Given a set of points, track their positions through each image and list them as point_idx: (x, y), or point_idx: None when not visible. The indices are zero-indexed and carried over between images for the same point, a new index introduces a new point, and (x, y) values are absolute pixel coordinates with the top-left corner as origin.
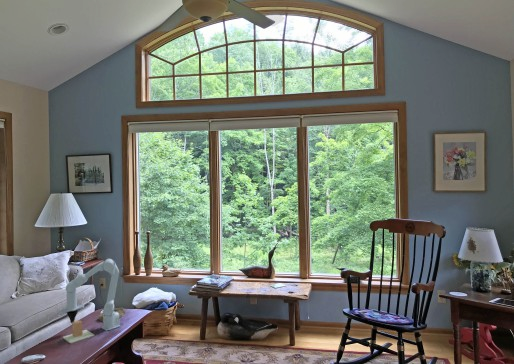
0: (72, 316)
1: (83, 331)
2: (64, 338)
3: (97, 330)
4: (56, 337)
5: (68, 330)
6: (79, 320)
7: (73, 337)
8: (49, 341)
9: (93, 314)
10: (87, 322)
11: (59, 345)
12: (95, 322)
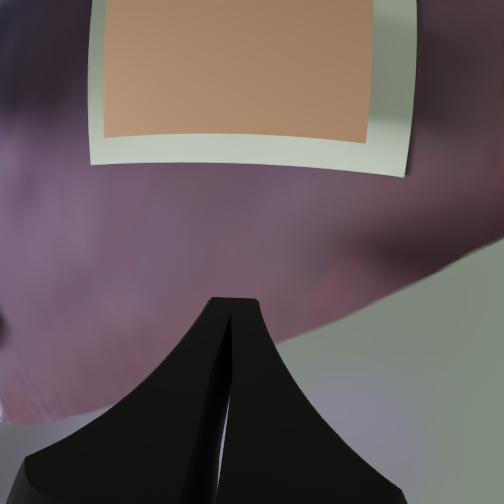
0: (248, 416)
1: None
2: (409, 119)
3: (18, 71)
4: (422, 252)
5: None
6: (108, 116)
7: None
8: (499, 210)
9: (31, 417)
10: (58, 355)
11: (493, 18)
12: (5, 302)
